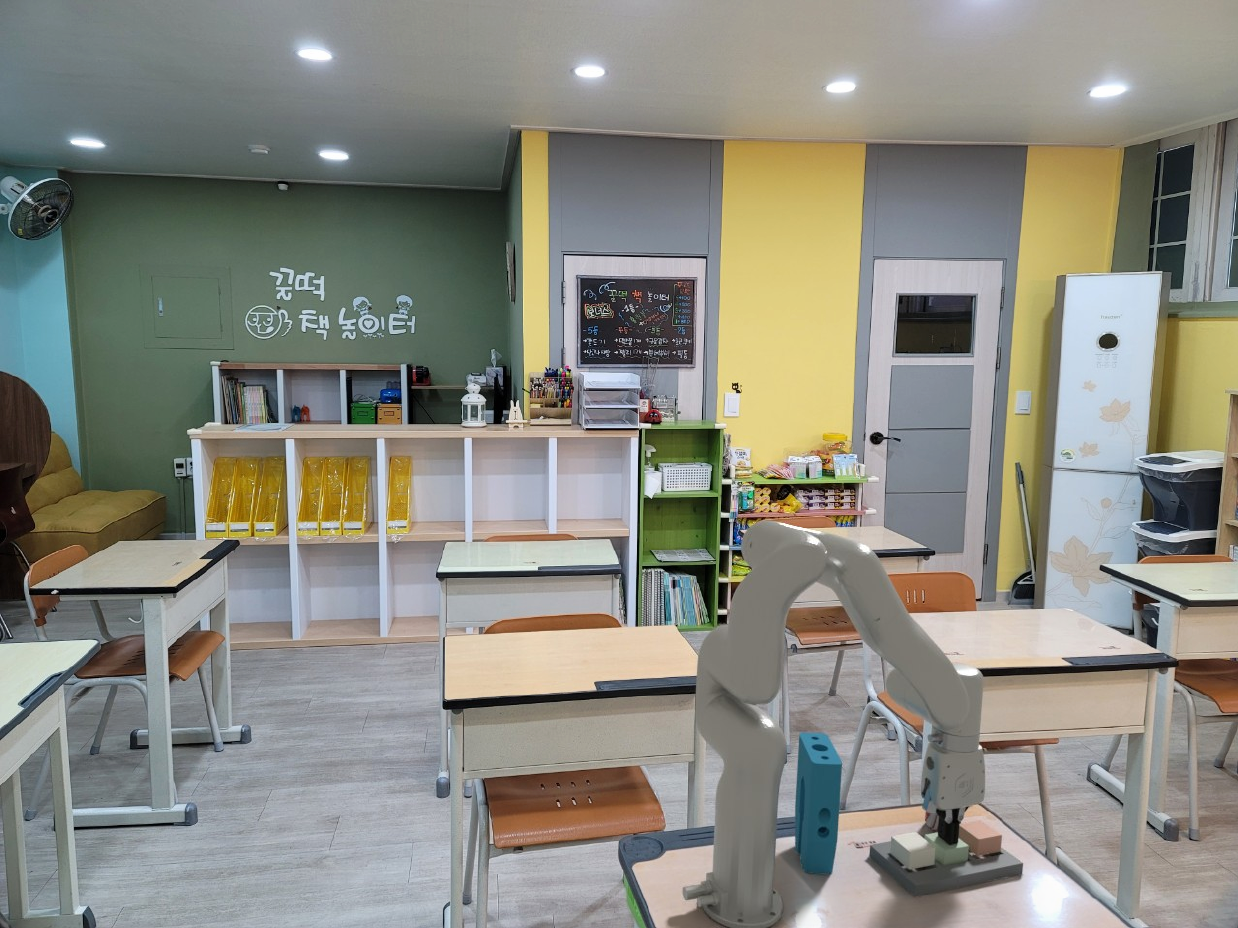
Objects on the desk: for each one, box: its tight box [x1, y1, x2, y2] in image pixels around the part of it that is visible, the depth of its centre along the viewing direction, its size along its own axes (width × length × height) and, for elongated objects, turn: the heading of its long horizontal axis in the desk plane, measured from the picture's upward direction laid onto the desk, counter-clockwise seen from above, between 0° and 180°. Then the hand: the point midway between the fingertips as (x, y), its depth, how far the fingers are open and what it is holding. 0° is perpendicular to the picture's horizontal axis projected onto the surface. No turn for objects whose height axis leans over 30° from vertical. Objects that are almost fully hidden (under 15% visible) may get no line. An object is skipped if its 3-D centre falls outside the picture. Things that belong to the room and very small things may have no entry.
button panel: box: [868, 834, 1024, 898], centre depth 143 cm, size 22×12×2 cm, turn 109°
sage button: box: [924, 831, 970, 866], centre depth 142 cm, size 5×5×3 cm
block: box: [794, 732, 843, 875], centre depth 142 cm, size 12×5×20 cm, turn 179°
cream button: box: [890, 831, 935, 870], centre depth 140 cm, size 5×5×3 cm
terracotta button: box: [959, 819, 1003, 857], centre depth 145 cm, size 5×5×3 cm
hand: (947, 839), depth 142 cm, fingers closed
